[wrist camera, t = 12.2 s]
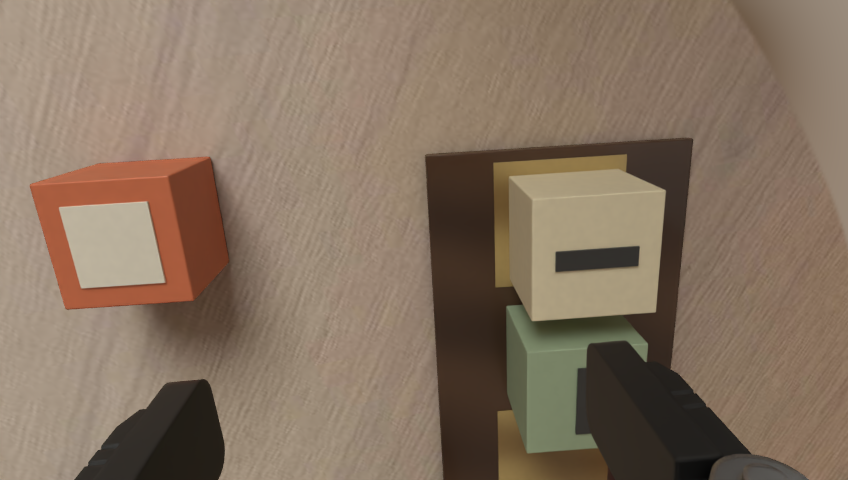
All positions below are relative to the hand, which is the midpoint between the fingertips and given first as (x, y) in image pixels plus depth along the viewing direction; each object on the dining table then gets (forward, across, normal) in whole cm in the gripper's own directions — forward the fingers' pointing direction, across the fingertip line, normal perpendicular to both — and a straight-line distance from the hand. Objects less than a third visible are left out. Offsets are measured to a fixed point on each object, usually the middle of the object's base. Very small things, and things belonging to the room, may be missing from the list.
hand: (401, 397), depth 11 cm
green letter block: (+14, -7, +7) cm, 17 cm away
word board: (+14, -7, +7) cm, 17 cm away
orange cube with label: (+14, +11, -1) cm, 18 cm away
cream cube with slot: (+14, -7, +1) cm, 16 cm away
